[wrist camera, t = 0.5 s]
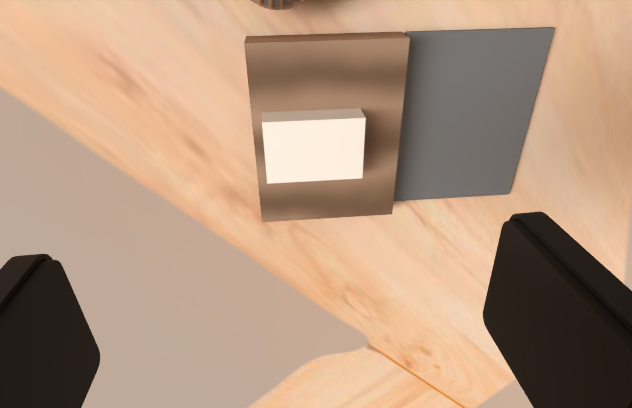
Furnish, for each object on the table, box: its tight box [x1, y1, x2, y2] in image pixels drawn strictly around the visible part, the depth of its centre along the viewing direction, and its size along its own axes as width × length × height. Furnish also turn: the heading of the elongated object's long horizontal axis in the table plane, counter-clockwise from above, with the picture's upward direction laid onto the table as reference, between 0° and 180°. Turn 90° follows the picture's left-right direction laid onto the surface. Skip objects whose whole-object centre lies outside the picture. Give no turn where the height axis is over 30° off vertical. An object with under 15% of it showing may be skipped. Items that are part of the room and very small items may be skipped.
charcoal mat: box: [393, 27, 555, 201], centre depth 43 cm, size 18×14×1 cm
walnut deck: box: [244, 32, 410, 222], centre depth 41 cm, size 18×14×3 cm
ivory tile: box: [262, 108, 366, 184], centre depth 38 cm, size 6×9×2 cm, turn 91°
